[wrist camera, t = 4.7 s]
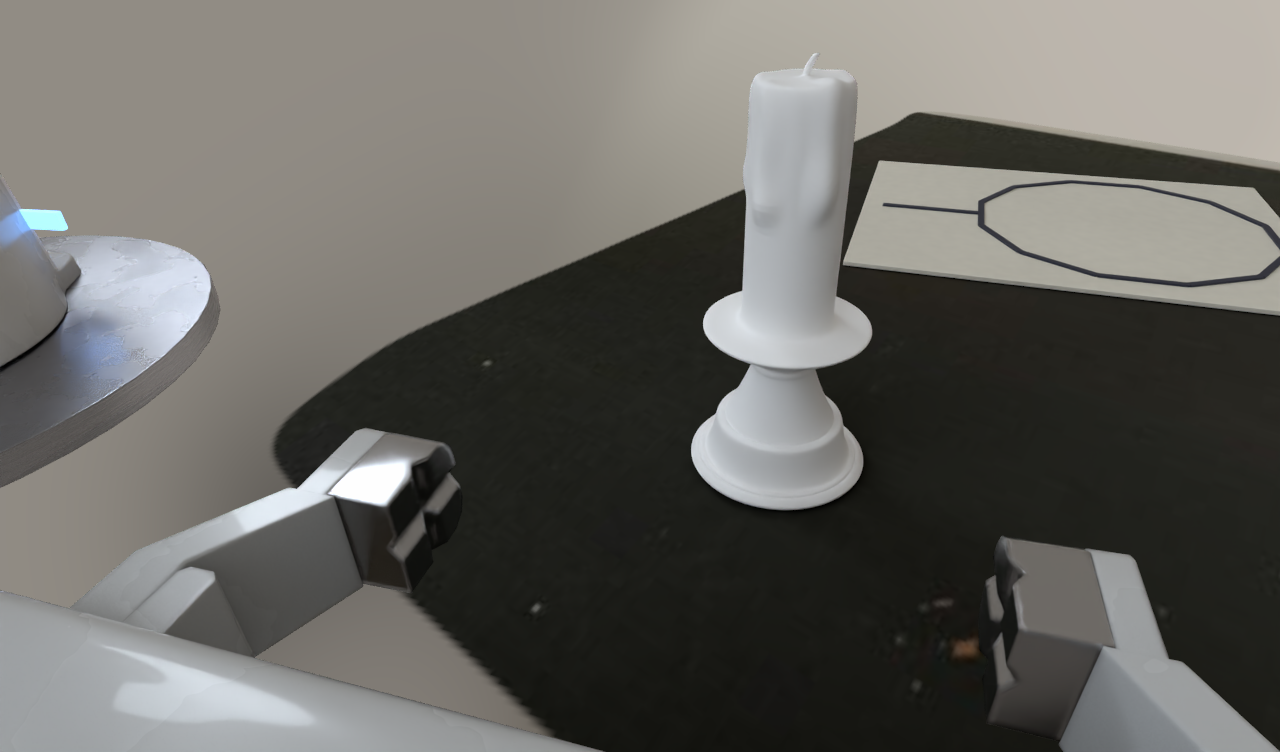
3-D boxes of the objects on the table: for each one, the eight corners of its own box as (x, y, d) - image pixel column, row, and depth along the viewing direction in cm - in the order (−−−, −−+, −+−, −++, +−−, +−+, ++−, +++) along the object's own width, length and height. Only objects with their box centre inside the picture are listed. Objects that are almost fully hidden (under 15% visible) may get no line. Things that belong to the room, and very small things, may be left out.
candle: (899, 482, 23) (982, 57, 16) (741, 534, 21) (766, 85, 15) (801, 392, 27) (837, 24, 21) (664, 430, 26) (656, 45, 19)
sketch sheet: (842, 265, 36) (843, 259, 36) (878, 163, 48) (879, 159, 48) (1366, 325, 30) (1369, 318, 30) (1252, 191, 42) (1254, 185, 42)
